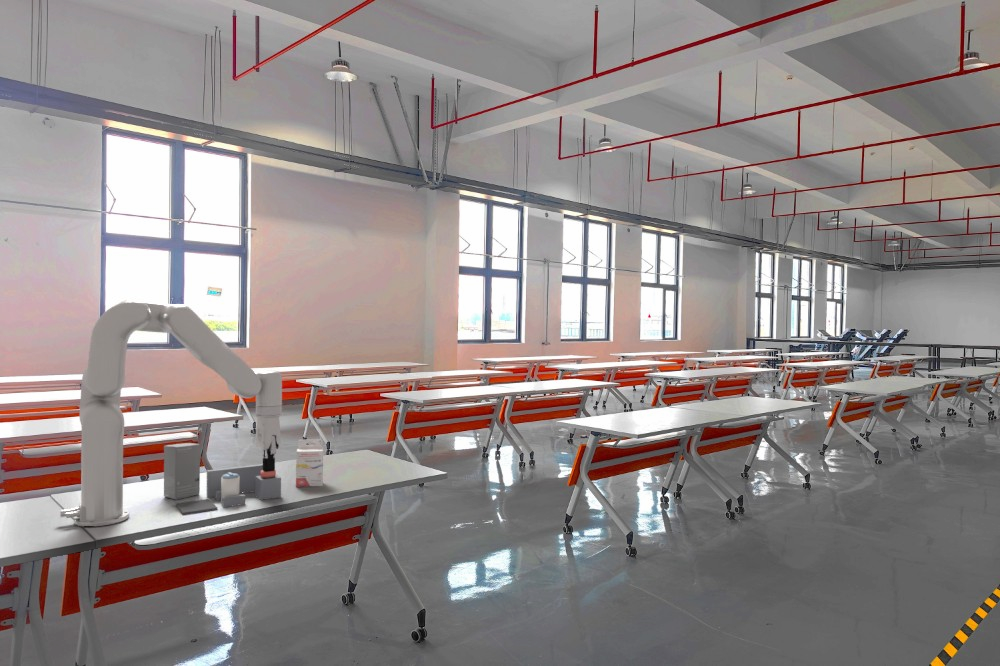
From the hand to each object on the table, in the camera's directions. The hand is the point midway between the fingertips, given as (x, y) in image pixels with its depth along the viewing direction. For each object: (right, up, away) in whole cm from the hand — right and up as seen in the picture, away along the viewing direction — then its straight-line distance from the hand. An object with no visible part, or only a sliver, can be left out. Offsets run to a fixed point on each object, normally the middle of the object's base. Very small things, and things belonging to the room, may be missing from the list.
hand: (268, 470), depth 199 cm
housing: (-7, -8, -1) cm, 10 cm away
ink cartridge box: (+8, -8, +15) cm, 19 cm away
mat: (-16, -8, -13) cm, 22 cm away
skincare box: (-26, -8, 0) cm, 28 cm away
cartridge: (-9, -8, -6) cm, 14 cm away
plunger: (0, -6, 0) cm, 6 cm away
